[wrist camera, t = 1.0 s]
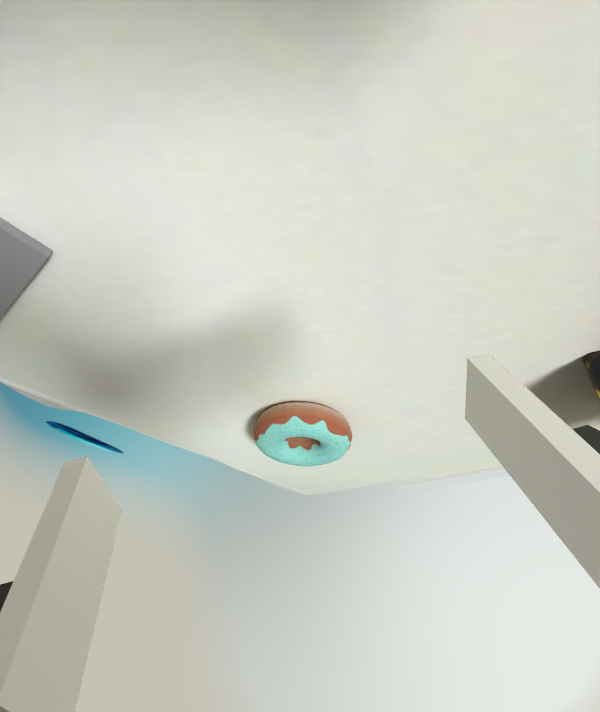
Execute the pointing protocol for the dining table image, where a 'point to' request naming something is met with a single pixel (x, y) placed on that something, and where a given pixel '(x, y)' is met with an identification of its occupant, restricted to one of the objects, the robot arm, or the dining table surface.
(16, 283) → the charcoal mat
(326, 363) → the dining table surface
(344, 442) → the donut
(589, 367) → the yellow brown cube
